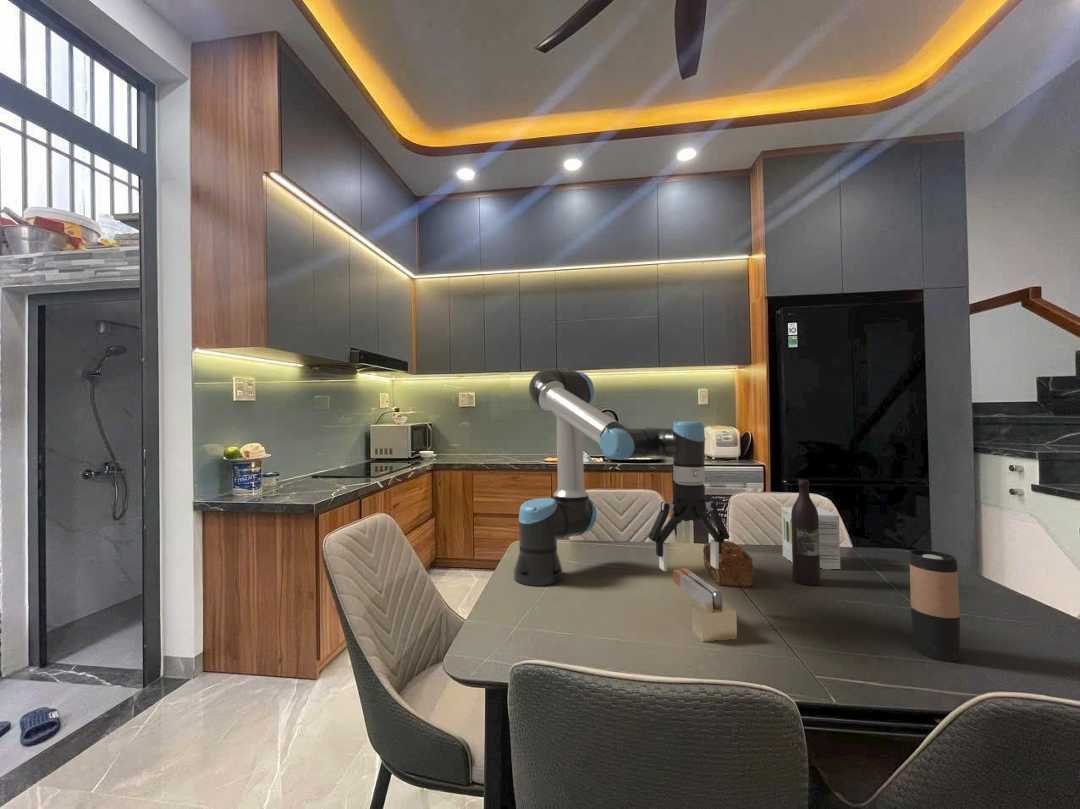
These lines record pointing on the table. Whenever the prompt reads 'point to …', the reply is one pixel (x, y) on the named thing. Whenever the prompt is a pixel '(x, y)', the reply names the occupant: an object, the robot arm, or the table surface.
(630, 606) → the table surface
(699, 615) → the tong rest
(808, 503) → the wine bottle
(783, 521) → the supplement box
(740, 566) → the bread
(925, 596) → the travel mug
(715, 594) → the tong arm
